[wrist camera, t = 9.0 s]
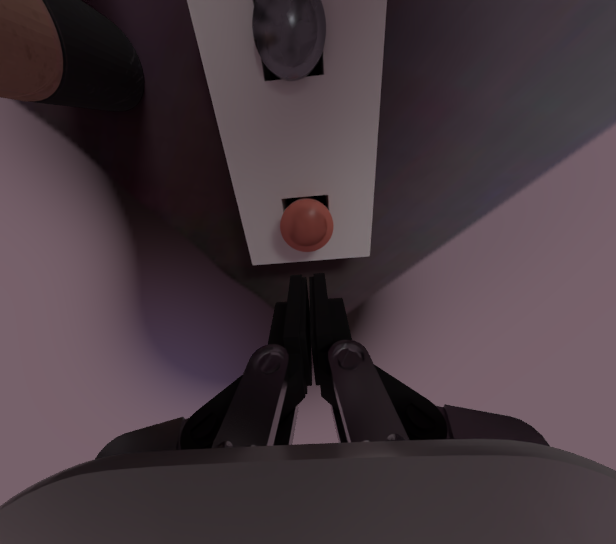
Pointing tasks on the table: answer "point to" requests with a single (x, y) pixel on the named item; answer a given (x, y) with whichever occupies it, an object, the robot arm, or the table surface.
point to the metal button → (289, 36)
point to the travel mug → (66, 56)
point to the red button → (306, 225)
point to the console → (297, 124)
